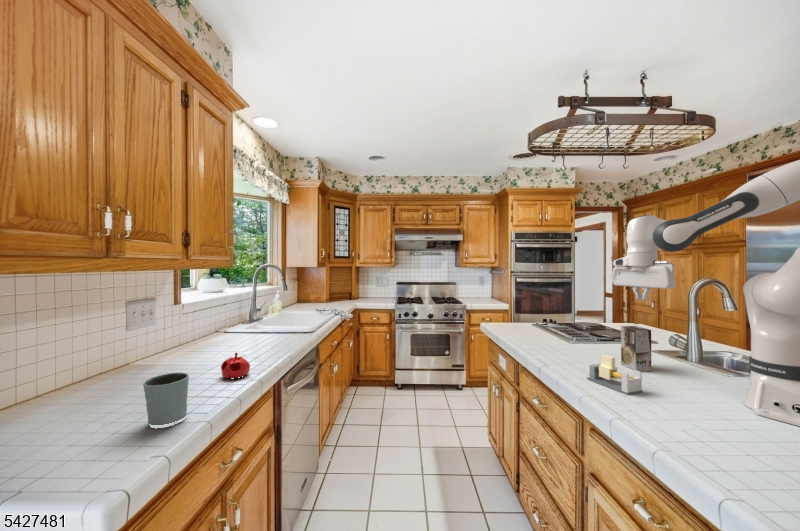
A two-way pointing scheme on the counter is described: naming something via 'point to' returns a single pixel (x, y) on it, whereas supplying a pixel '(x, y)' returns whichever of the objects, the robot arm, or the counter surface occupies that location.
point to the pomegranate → (235, 367)
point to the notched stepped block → (607, 367)
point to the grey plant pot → (166, 397)
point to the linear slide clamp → (627, 385)
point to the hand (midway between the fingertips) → (641, 299)
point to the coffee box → (636, 348)
